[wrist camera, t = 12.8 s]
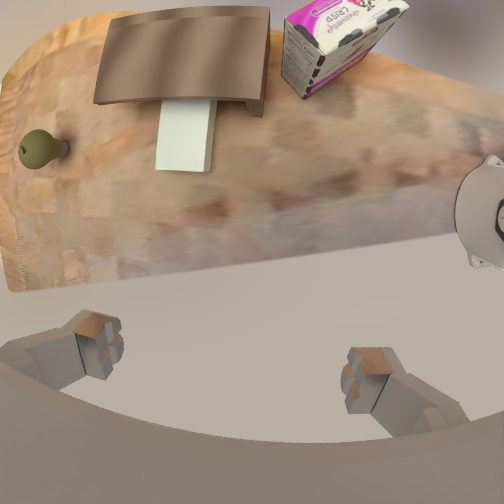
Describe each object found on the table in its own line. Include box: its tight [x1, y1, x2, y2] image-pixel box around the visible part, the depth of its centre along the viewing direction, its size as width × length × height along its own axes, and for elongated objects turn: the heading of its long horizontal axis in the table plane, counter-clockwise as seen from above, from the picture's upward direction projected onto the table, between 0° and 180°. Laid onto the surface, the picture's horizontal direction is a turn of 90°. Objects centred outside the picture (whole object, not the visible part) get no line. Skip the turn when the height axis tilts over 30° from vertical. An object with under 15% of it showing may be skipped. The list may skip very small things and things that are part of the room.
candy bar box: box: [281, 0, 409, 100], centre depth 23 cm, size 11×5×16 cm, turn 131°
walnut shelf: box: [93, 6, 270, 117], centre depth 27 cm, size 18×11×10 cm, turn 84°
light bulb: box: [18, 130, 68, 169], centre depth 31 cm, size 6×6×10 cm
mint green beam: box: [155, 100, 217, 172], centre depth 32 cm, size 6×16×4 cm, turn 174°
